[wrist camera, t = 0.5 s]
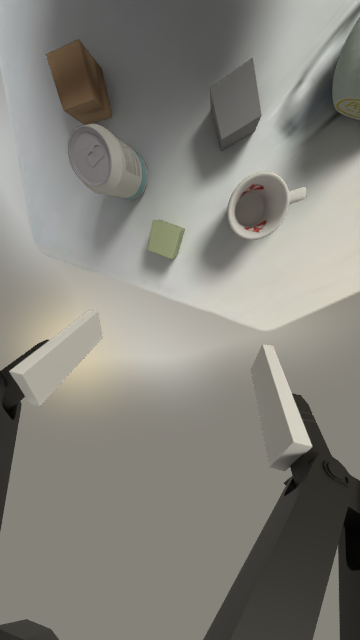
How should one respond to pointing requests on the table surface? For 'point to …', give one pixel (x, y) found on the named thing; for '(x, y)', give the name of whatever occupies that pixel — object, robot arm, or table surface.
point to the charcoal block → (235, 105)
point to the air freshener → (348, 77)
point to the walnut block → (79, 83)
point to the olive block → (165, 239)
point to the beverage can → (106, 162)
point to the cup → (260, 205)
